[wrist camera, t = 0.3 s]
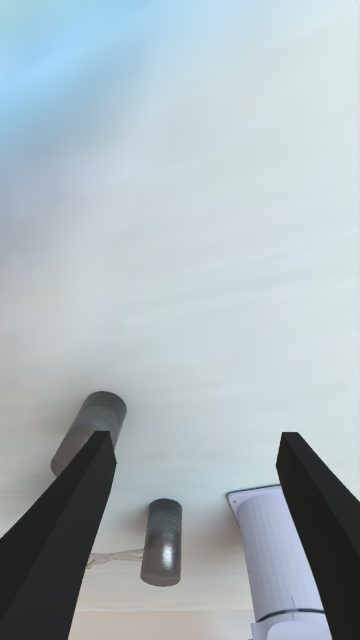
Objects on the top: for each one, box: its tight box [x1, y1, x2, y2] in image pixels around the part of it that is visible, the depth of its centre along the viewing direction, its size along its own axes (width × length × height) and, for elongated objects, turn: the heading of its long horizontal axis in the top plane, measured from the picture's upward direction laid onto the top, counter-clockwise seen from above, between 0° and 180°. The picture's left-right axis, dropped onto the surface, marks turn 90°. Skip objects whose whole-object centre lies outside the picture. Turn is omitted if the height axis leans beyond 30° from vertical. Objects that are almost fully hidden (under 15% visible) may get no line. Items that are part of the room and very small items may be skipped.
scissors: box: [86, 549, 144, 569], centre depth 34 cm, size 11×1×20 cm
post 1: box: [51, 391, 127, 477], centre depth 20 cm, size 4×4×6 cm
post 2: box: [140, 499, 182, 587], centre depth 26 cm, size 4×4×6 cm
